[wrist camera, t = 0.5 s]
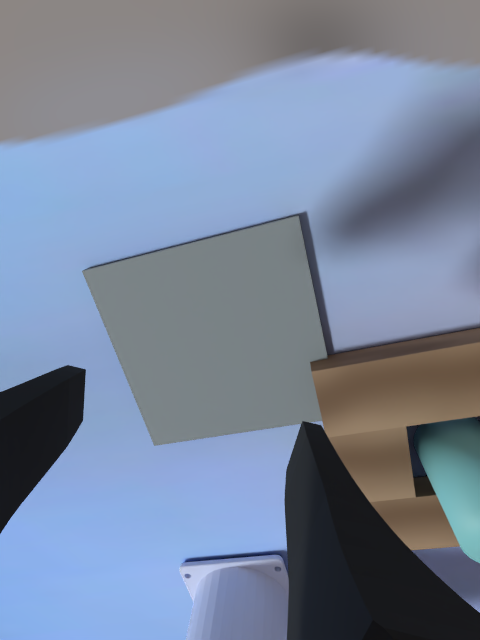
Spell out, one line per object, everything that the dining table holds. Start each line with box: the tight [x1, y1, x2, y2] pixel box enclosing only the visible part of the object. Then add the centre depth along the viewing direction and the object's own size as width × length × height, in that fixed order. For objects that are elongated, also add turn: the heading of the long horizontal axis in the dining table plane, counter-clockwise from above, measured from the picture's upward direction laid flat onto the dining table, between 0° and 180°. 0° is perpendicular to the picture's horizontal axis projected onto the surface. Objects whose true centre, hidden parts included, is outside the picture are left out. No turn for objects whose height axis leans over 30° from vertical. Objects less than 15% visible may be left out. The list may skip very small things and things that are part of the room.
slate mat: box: [82, 215, 328, 446], centre depth 22 cm, size 12×12×1 cm
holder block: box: [310, 328, 480, 550], centre depth 22 cm, size 14×14×2 cm
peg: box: [414, 417, 480, 563], centre depth 20 cm, size 4×4×6 cm
